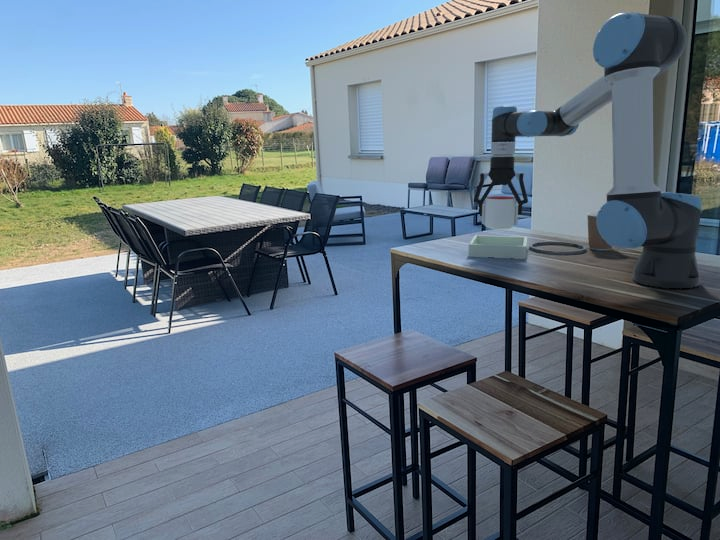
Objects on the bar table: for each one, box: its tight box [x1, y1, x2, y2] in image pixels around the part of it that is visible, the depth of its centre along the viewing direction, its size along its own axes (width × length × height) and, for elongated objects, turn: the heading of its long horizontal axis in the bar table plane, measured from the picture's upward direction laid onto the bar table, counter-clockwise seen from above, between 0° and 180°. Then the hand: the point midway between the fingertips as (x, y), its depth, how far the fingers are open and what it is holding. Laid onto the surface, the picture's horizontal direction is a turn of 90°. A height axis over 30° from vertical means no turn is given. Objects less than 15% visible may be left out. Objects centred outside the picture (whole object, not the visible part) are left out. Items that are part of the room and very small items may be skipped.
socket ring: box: [528, 240, 588, 256], centre depth 177 cm, size 18×18×1 cm
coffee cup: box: [586, 211, 613, 251], centre depth 175 cm, size 10×10×12 cm
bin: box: [468, 234, 528, 260], centre depth 173 cm, size 18×18×4 cm
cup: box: [483, 195, 517, 230], centre depth 171 cm, size 10×10×10 cm
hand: (499, 223), depth 172 cm, fingers closed on cup, 10 cm apart
